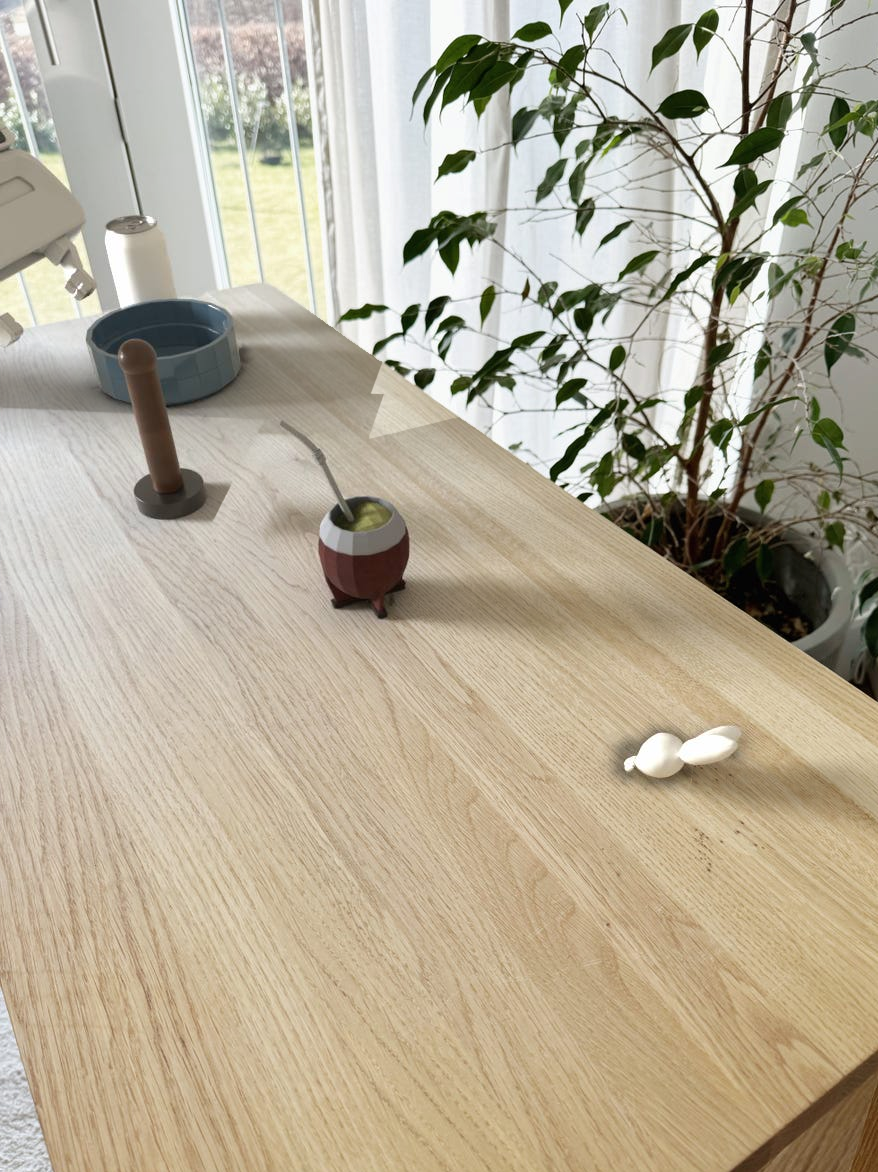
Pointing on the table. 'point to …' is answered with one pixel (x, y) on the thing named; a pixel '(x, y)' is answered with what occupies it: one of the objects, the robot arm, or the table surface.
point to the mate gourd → (359, 544)
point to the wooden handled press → (157, 440)
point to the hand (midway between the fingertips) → (53, 315)
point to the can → (139, 260)
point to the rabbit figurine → (683, 751)
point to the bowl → (168, 347)
